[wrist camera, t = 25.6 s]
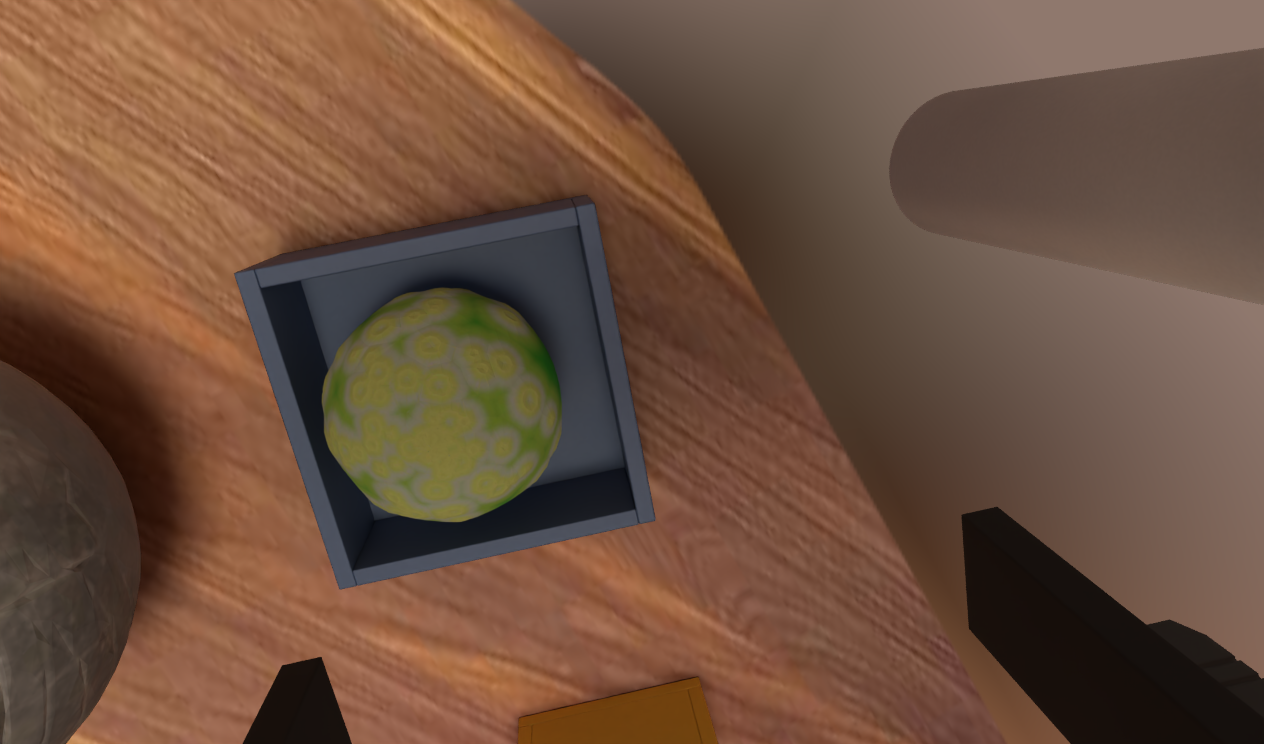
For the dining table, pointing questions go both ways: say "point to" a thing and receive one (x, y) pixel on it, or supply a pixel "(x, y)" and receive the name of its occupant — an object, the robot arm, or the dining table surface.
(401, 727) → the dining table surface
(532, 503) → the blue bin
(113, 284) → the dining table surface
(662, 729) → the yellow bin
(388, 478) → the decorative ball
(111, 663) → the bowl
